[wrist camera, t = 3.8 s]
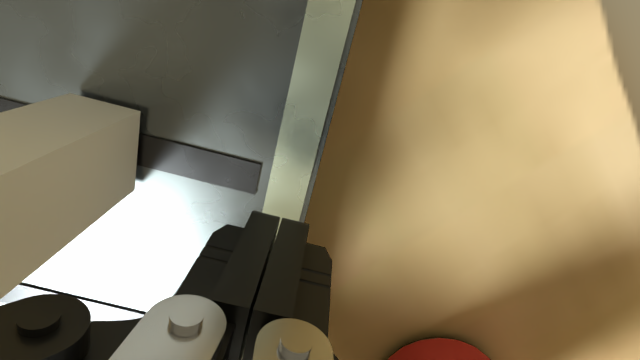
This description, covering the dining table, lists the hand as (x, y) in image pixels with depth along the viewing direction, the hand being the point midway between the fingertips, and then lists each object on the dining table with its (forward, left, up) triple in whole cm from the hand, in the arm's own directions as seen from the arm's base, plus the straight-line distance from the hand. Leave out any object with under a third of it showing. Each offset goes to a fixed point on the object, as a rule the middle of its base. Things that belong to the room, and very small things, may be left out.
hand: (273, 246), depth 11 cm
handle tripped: (-7, 0, -4) cm, 8 cm away
